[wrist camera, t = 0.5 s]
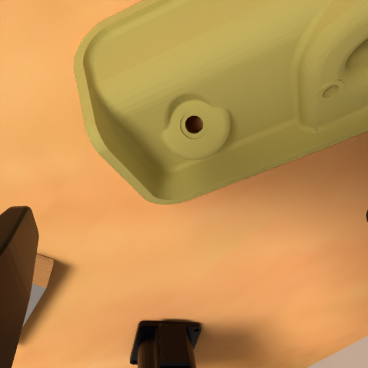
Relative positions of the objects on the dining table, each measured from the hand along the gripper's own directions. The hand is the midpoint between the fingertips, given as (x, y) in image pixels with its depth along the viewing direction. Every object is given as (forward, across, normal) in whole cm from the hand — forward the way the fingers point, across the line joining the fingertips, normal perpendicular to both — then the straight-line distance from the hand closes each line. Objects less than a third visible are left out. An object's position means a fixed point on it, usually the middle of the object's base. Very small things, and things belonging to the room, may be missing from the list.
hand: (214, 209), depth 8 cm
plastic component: (+15, -6, +2) cm, 16 cm away
